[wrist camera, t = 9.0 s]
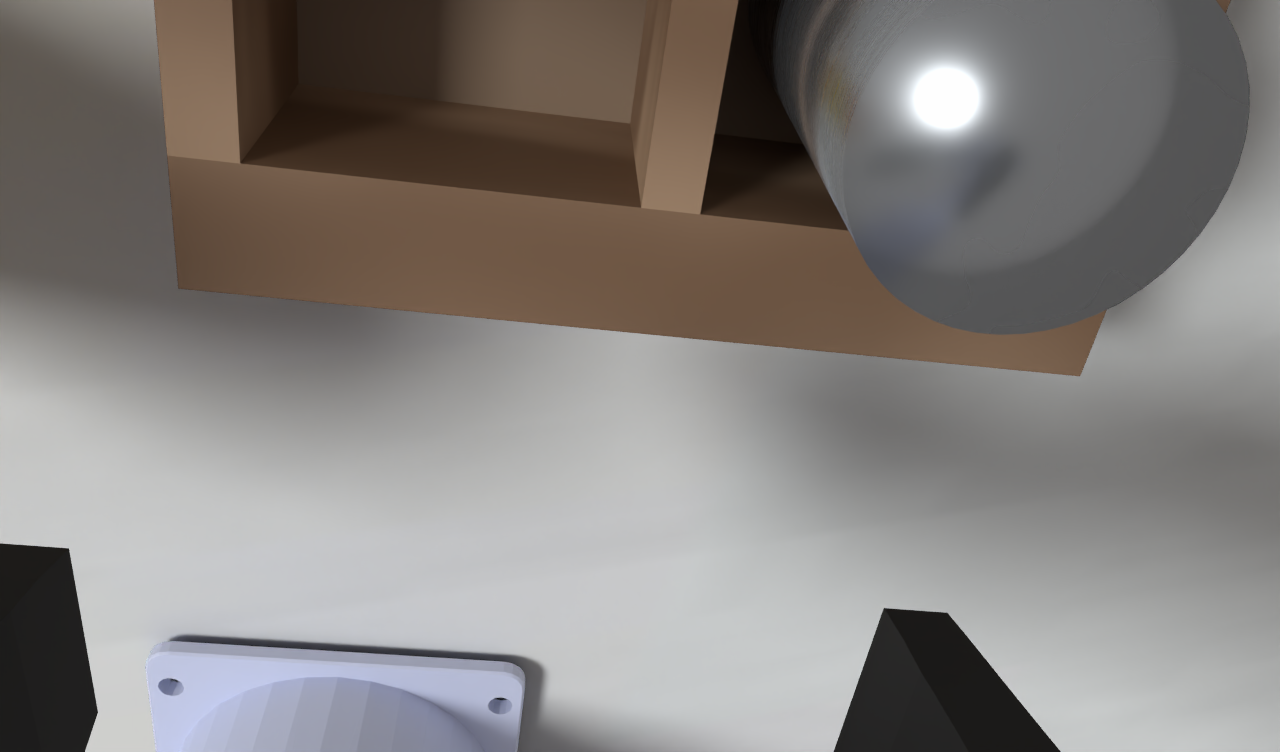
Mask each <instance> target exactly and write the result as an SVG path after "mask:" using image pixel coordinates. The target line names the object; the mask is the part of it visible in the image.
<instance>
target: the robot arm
mask: <svg viewBox="0 0 1280 752" xmlns="http://www.w3.org/2000/svg"><path fill="white" fill-rule="evenodd" d="M145 669H146V677H147V684H148V692H149V700H150V708H151V716H152V724H153V732H154V740H155V747H156V752H517V751H518V742H519V734H520V726H521V717H522V709H523V701H524V692H525V674H524V672H523V671H522V669H521V668H520V667H518V666H516V665H515V664H513V663H508V662H501V661H485V660H469V659H453V658H437V657H421V656H405V655H388V654H372V653H356V652H340V651H324V650H308V649H292V648H275V647H259V646H243V645H227V644H211V643H195V642H179V641H168V642H162V643H159V644H157V645H155V646H154V648H153V649H152V650H151V652H150V654H149V656H148V658H147V660H146V666H145ZM168 678H172V679H176V680H178V681H179V682H176V681H172V680H170V679H168ZM500 697H501V698H505V699H507V700H501V701H500V700H496V699H494V698H500ZM97 713H98V711H97V705H96V699H95V694H94V688H93V682H92V677H91V671H90V665H89V660H88V654H87V648H86V643H85V637H84V632H83V626H82V620H81V615H80V609H79V603H78V598H77V592H76V586H75V581H74V575H73V569H72V564H71V558H70V552H69V549H68V548H54V547H41V546H27V545H13V544H0V752H85V749H86V746H87V743H88V740H89V737H90V734H91V731H92V728H93V725H94V722H95V719H96V716H97ZM834 752H1061V751H1060V750H1059V749H1058V748H1057V747H1056V745H1055V744H1054V743H1053V742H1052V741H1051V739H1050V738H1049V737H1048V736H1047V735H1046V733H1045V732H1044V731H1043V730H1042V729H1041V727H1040V726H1039V725H1038V724H1037V722H1036V721H1035V720H1034V719H1033V717H1032V716H1031V715H1030V714H1029V713H1028V711H1027V710H1026V709H1025V708H1024V706H1023V705H1022V704H1021V703H1020V702H1019V700H1018V699H1017V698H1016V697H1015V695H1014V694H1013V693H1012V692H1011V690H1010V689H1009V688H1008V687H1007V686H1006V684H1005V683H1004V682H1003V681H1002V679H1001V678H1000V677H999V676H998V674H997V673H996V672H995V671H994V669H993V668H992V667H991V666H990V664H989V663H988V662H987V661H986V659H985V658H984V657H983V656H982V655H981V653H980V652H979V651H978V650H977V648H976V647H975V646H974V645H973V643H972V642H971V641H970V640H969V638H968V637H967V636H966V635H965V634H964V632H963V631H962V630H961V629H960V628H959V626H958V625H957V624H956V623H955V622H954V620H953V619H952V618H951V617H950V616H949V614H948V613H941V612H927V611H914V610H900V609H887V608H884V610H883V612H882V615H881V618H880V621H879V624H878V627H877V630H876V632H875V635H874V638H873V641H872V644H871V647H870V650H869V652H868V655H867V658H866V661H865V664H864V667H863V670H862V672H861V675H860V678H859V681H858V684H857V687H856V690H855V692H854V695H853V698H852V701H851V704H850V707H849V710H848V712H847V715H846V718H845V721H844V724H843V727H842V730H841V732H840V735H839V738H838V741H837V744H836V747H835V750H834Z"/></svg>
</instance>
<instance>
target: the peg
mask: <svg viewBox="0 0 1280 752" xmlns="http://www.w3.org/2000/svg"><path fill="white" fill-rule="evenodd" d="M748 16H749V26H750V32H751V36H752V41H753V45H754V48H755V50H756V53H757V56H758V58H759V61H760V63H761V65H762V67H763V69H764V70H765V72H766V74H767V76H768V78H769V80H770V82H771V84H772V86H773V88H774V89H775V91H776V93H777V95H778V97H779V99H780V101H781V103H782V105H783V107H784V109H785V110H786V112H787V114H788V116H789V118H790V120H791V122H792V124H793V126H794V128H795V129H796V131H797V133H798V135H799V137H800V139H801V141H802V143H803V145H804V147H805V149H806V150H807V152H808V154H809V156H810V158H811V160H812V162H813V164H814V166H815V168H816V169H817V171H818V173H819V175H820V177H821V179H822V181H823V183H824V185H825V187H826V188H827V190H828V192H829V194H830V196H831V198H832V200H833V202H834V204H835V206H836V208H837V209H838V211H839V213H840V215H841V217H842V219H843V221H844V223H845V225H846V227H847V228H848V230H849V232H850V234H851V236H852V238H853V240H854V242H855V244H856V246H857V247H858V249H859V251H860V253H861V255H862V257H863V258H864V260H865V262H866V264H867V266H868V267H869V269H870V270H871V271H872V272H873V274H874V275H875V276H876V278H877V279H878V280H879V282H880V283H881V284H882V285H883V286H884V287H885V288H886V289H887V290H888V291H889V292H890V293H891V294H892V295H893V296H895V297H896V298H897V299H898V300H899V301H901V302H902V303H904V304H905V305H906V306H908V307H909V308H911V309H912V310H914V311H915V312H917V313H919V314H921V315H923V316H925V317H927V318H929V319H931V320H933V321H935V322H938V323H941V324H944V325H947V326H950V327H952V328H955V329H960V330H965V331H970V332H975V333H984V334H997V335H1008V334H1027V333H1033V332H1039V331H1046V330H1051V329H1055V328H1058V327H1062V326H1066V325H1070V324H1073V323H1076V322H1078V321H1081V320H1084V319H1086V318H1089V317H1092V316H1094V315H1097V314H1099V313H1101V312H1103V311H1105V310H1107V309H1109V308H1111V307H1113V306H1115V305H1117V304H1119V303H1121V302H1122V301H1124V300H1125V299H1127V298H1128V297H1130V296H1132V295H1133V294H1135V293H1136V292H1138V291H1140V290H1141V289H1143V288H1144V287H1145V286H1146V285H1148V284H1149V283H1150V282H1152V281H1153V280H1154V279H1155V278H1157V277H1158V276H1159V275H1161V274H1162V273H1163V272H1164V271H1165V270H1166V269H1167V268H1168V267H1170V266H1171V265H1172V264H1173V263H1174V262H1175V261H1176V260H1177V259H1178V258H1179V257H1180V256H1181V255H1182V254H1183V253H1184V252H1185V251H1186V250H1187V248H1188V247H1189V246H1190V245H1191V244H1192V243H1193V241H1194V240H1195V239H1196V238H1197V237H1198V236H1199V234H1200V233H1201V232H1202V230H1203V229H1204V228H1205V226H1206V225H1207V223H1208V222H1209V220H1210V219H1211V217H1212V216H1213V215H1214V213H1215V212H1216V210H1217V208H1218V206H1219V204H1220V203H1221V201H1222V199H1223V197H1224V195H1225V194H1226V192H1227V190H1228V188H1229V186H1230V183H1231V181H1232V178H1233V176H1234V173H1235V171H1236V169H1237V166H1238V164H1239V160H1240V156H1241V153H1242V149H1243V146H1244V142H1245V138H1246V132H1247V125H1248V118H1249V81H1248V74H1247V67H1246V61H1245V58H1244V55H1243V51H1242V48H1241V45H1240V41H1239V38H1238V36H1237V34H1236V32H1235V30H1234V28H1233V26H1232V24H1231V22H1230V20H1229V18H1228V16H1227V15H1226V14H1225V12H1224V11H1223V9H1222V8H1221V7H1220V5H1219V4H1218V3H1217V1H1216V0H749V1H748Z"/></svg>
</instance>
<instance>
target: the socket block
mask: <svg viewBox="0 0 1280 752" xmlns="http://www.w3.org/2000/svg"><path fill="white" fill-rule="evenodd" d="M748 1H749V0H154V6H155V18H156V30H157V42H158V54H159V65H160V77H161V89H162V101H163V112H164V124H165V136H166V148H167V160H168V171H169V183H170V195H171V207H172V219H173V230H174V242H175V254H176V266H177V277H178V288H179V289H189V290H199V291H209V292H220V293H230V294H240V295H250V296H261V297H271V298H281V299H292V300H302V301H312V302H322V303H333V304H343V305H353V306H363V307H374V308H384V309H394V310H405V311H415V312H425V313H435V314H446V315H456V316H466V317H476V318H487V319H497V320H507V321H518V322H528V323H538V324H548V325H559V326H569V327H579V328H589V329H600V330H610V331H620V332H631V333H641V334H651V335H661V336H672V337H682V338H692V339H703V340H713V341H723V342H733V343H744V344H754V345H764V346H774V347H785V348H795V349H805V350H816V351H826V352H836V353H846V354H857V355H867V356H877V357H887V358H898V359H908V360H918V361H929V362H939V363H949V364H959V365H970V366H980V367H990V368H1000V369H1011V370H1021V371H1031V372H1042V373H1052V374H1062V375H1072V376H1080V375H1081V373H1082V370H1083V368H1084V365H1085V363H1086V360H1087V358H1088V355H1089V353H1090V350H1091V348H1092V345H1093V343H1094V340H1095V338H1096V335H1097V333H1098V330H1099V328H1100V325H1101V323H1102V320H1103V318H1104V315H1105V313H1106V310H1105V311H1103V312H1101V313H1099V314H1097V315H1094V316H1092V317H1089V318H1086V319H1084V320H1081V321H1078V322H1076V323H1073V324H1070V325H1066V326H1062V327H1058V328H1055V329H1051V330H1046V331H1039V332H1033V333H1027V334H1008V335H997V334H984V333H975V332H970V331H965V330H960V329H955V328H952V327H950V326H947V325H944V324H941V323H938V322H935V321H933V320H931V319H929V318H927V317H925V316H923V315H921V314H919V313H917V312H915V311H914V310H912V309H911V308H909V307H908V306H906V305H905V304H904V303H902V302H901V301H899V300H898V299H897V298H896V297H895V296H893V295H892V294H891V293H890V292H889V291H888V290H887V289H886V288H885V287H884V286H883V285H882V284H881V283H880V282H879V280H878V279H877V278H876V276H875V275H874V274H873V272H872V271H871V270H870V269H869V267H868V266H867V264H866V262H865V260H864V258H863V257H862V255H861V253H860V251H859V249H858V247H857V246H856V244H855V242H854V240H853V238H852V236H851V234H850V232H849V230H848V228H847V227H846V225H845V223H844V221H843V219H842V217H841V215H840V213H839V211H838V209H837V208H836V206H835V204H834V202H833V200H832V198H831V196H830V194H829V192H828V190H827V188H826V187H825V185H824V183H823V181H822V179H821V177H820V175H819V173H818V171H817V169H816V168H815V166H814V164H813V162H812V160H811V158H810V156H809V154H808V152H807V150H806V149H805V147H804V145H803V143H802V141H801V139H800V137H799V135H798V133H797V131H796V129H795V128H794V126H793V124H792V122H791V120H790V118H789V116H788V114H787V112H786V110H785V109H784V107H783V105H782V103H781V101H780V99H779V97H778V95H777V93H776V91H775V89H774V88H773V86H772V84H771V82H770V80H769V78H768V76H767V74H766V72H765V70H764V69H763V67H762V65H761V63H760V61H759V58H758V56H757V53H756V50H755V48H754V45H753V41H752V36H751V32H750V26H749V16H748ZM1216 1H1217V3H1218V4H1219V5H1220V7H1221V8H1222V9H1223V11H1224V12H1225V13H1226V11H1227V8H1228V6H1229V3H1230V1H1231V0H1216Z"/></svg>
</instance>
